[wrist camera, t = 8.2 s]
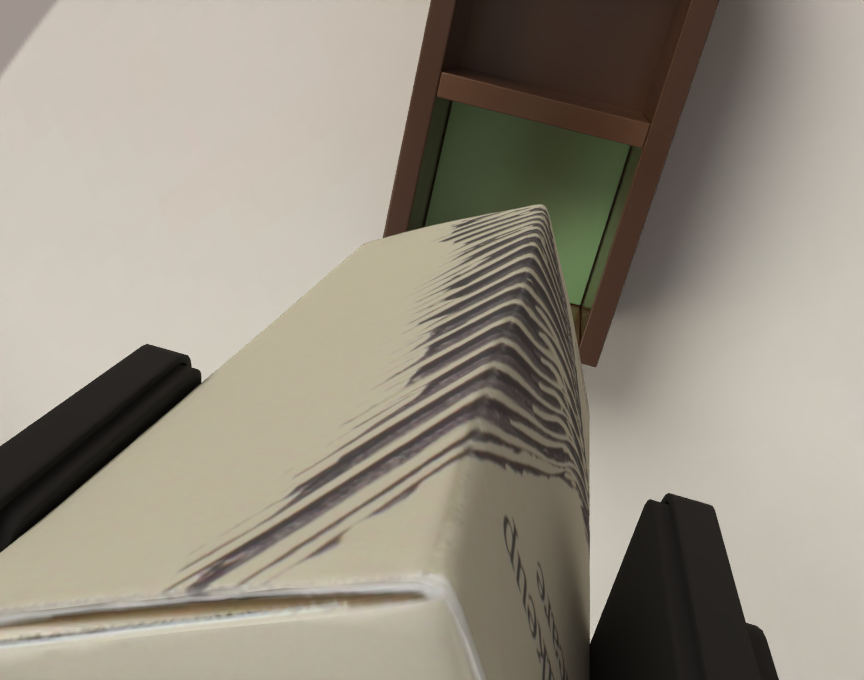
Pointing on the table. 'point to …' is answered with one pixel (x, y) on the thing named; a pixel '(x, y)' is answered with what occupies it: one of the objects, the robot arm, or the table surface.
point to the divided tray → (551, 127)
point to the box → (343, 491)
